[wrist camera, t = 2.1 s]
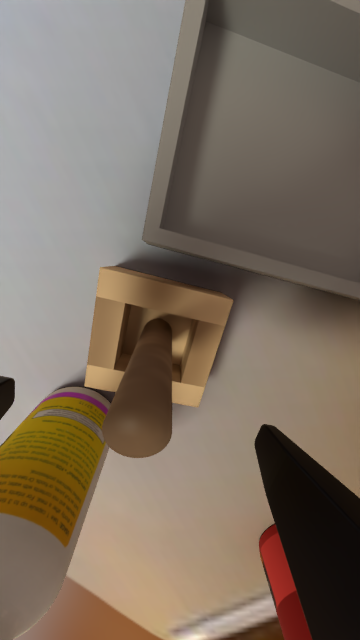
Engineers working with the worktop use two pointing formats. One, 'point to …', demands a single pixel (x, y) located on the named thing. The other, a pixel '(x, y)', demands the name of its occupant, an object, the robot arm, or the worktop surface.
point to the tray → (264, 141)
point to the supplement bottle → (46, 500)
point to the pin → (143, 397)
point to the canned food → (282, 587)
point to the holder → (147, 304)
